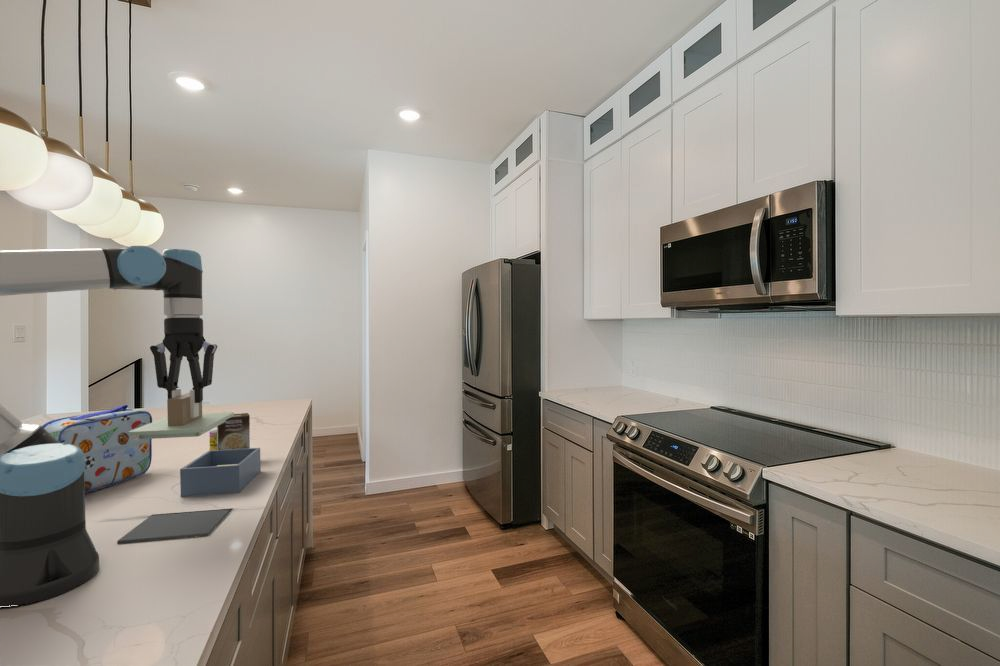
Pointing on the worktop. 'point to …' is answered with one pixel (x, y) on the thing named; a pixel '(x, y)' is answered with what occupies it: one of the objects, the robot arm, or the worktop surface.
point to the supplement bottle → (213, 438)
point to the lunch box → (107, 444)
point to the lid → (180, 421)
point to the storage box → (220, 472)
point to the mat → (175, 526)
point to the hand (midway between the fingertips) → (185, 417)
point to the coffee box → (234, 433)
